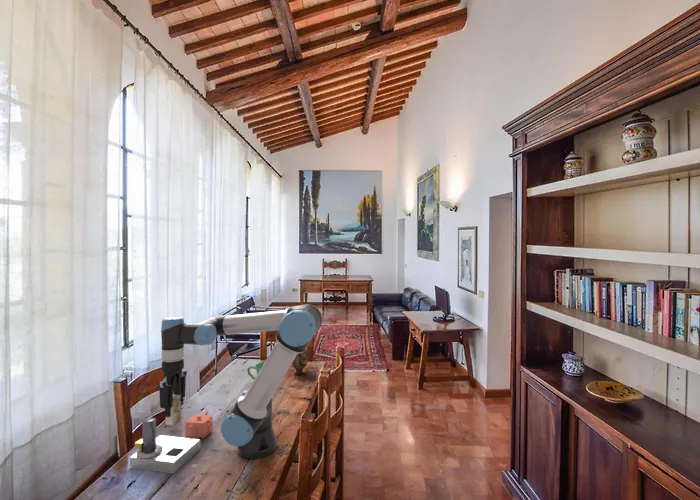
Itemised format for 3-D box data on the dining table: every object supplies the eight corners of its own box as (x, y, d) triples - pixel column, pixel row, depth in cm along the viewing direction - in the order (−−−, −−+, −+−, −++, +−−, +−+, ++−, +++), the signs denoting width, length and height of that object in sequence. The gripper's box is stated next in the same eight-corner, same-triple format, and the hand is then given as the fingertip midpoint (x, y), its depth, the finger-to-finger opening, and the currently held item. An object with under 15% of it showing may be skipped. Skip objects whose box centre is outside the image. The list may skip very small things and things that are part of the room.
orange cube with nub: (220, 427, 166) (220, 408, 166) (203, 445, 151) (202, 425, 151) (196, 425, 168) (195, 407, 168) (176, 443, 153) (175, 423, 153)
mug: (273, 378, 226) (273, 361, 226) (271, 384, 216) (271, 367, 216) (249, 379, 225) (248, 362, 225) (245, 385, 215) (245, 368, 215)
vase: (307, 377, 228) (306, 328, 227) (287, 377, 228) (286, 328, 227) (309, 370, 239) (309, 323, 239) (290, 370, 240) (289, 324, 239)
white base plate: (200, 449, 148) (200, 439, 148) (173, 473, 133) (173, 462, 133) (160, 444, 152) (160, 435, 152) (129, 468, 136) (129, 457, 136)
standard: (167, 447, 142) (166, 416, 142) (151, 460, 134) (150, 427, 134) (146, 445, 144) (145, 414, 144) (129, 457, 136) (128, 424, 136)
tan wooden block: (172, 420, 141) (172, 394, 141) (180, 421, 140) (180, 395, 140) (165, 424, 138) (165, 398, 138) (174, 425, 137) (174, 398, 137)
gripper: (178, 352, 148) (178, 411, 148) (147, 365, 131) (148, 431, 132) (195, 353, 146) (195, 412, 146) (166, 367, 130) (167, 433, 130)
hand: (173, 421), depth 139 cm, fingers closed on tan wooden block, 3 cm apart
